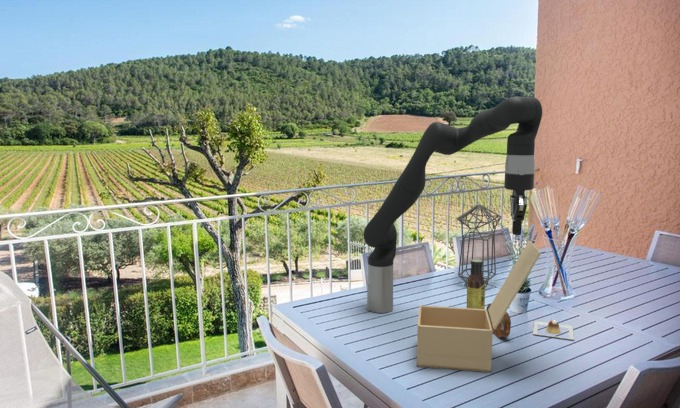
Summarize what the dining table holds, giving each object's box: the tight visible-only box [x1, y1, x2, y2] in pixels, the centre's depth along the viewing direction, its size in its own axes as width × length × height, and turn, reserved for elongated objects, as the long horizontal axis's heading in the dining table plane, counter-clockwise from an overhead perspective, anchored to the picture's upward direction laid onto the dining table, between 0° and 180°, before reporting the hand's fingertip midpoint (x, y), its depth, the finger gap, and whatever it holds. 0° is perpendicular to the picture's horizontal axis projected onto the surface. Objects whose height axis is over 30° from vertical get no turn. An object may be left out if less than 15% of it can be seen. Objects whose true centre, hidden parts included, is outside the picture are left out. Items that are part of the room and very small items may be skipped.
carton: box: [416, 305, 494, 373], centre depth 147 cm, size 20×17×12 cm
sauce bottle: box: [466, 258, 486, 310], centre depth 180 cm, size 7×6×20 cm
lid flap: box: [488, 240, 542, 329], centre depth 141 cm, size 24×15×1 cm
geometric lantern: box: [455, 203, 502, 288], centre depth 212 cm, size 16×16×35 cm
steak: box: [485, 303, 512, 338], centre depth 165 cm, size 15×3×8 cm, turn 5°
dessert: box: [532, 319, 575, 341], centre depth 165 cm, size 12×12×5 cm
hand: (516, 234), depth 140 cm, fingers closed
